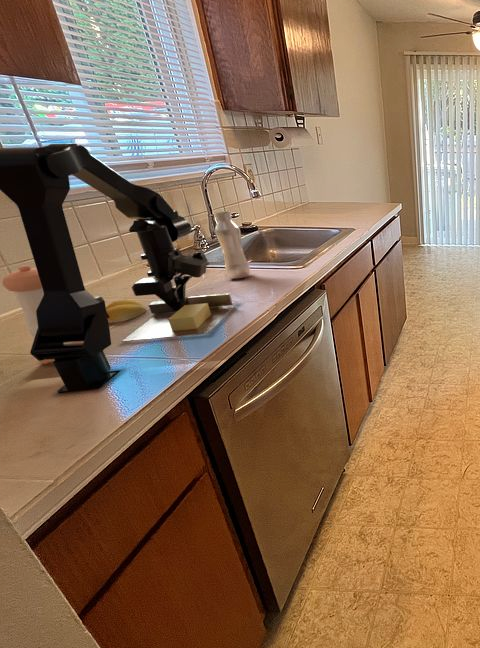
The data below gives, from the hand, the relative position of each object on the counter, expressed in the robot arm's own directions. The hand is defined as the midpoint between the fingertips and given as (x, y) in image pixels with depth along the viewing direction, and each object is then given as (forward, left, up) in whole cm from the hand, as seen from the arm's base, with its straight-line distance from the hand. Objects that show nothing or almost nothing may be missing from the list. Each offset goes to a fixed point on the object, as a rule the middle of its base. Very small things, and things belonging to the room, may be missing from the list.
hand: (180, 308), depth 99 cm
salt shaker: (-18, +13, -2) cm, 22 cm away
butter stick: (-8, -6, -1) cm, 10 cm away
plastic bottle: (+27, -5, -2) cm, 27 cm away
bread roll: (+1, +13, -2) cm, 13 cm away
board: (-6, -3, -1) cm, 7 cm away
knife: (0, -3, 0) cm, 3 cm away
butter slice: (+1, -6, -1) cm, 6 cm away
